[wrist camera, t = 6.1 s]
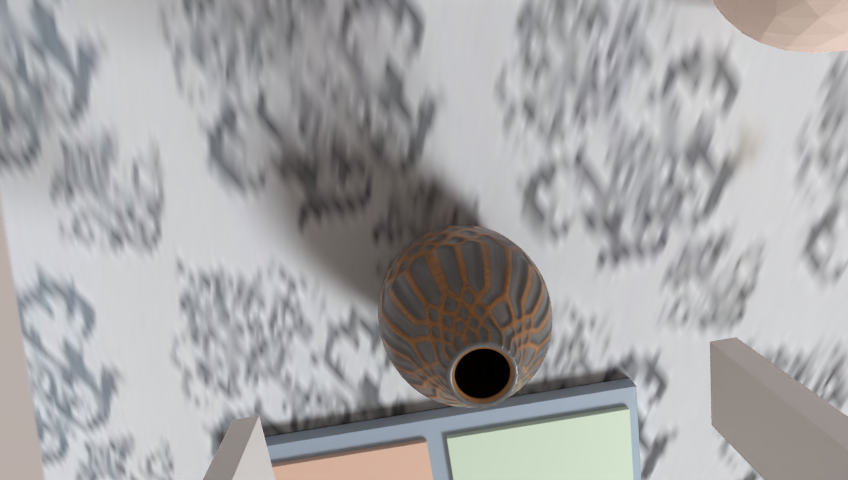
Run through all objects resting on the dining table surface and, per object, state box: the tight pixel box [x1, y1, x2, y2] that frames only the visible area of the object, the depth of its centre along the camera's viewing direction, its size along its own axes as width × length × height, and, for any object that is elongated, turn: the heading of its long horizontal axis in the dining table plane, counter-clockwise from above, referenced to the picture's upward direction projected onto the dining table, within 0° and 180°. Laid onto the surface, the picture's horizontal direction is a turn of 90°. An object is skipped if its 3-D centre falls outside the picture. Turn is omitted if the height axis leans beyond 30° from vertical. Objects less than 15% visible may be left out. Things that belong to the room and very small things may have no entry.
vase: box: [378, 225, 552, 408], centre depth 22 cm, size 7×7×9 cm
